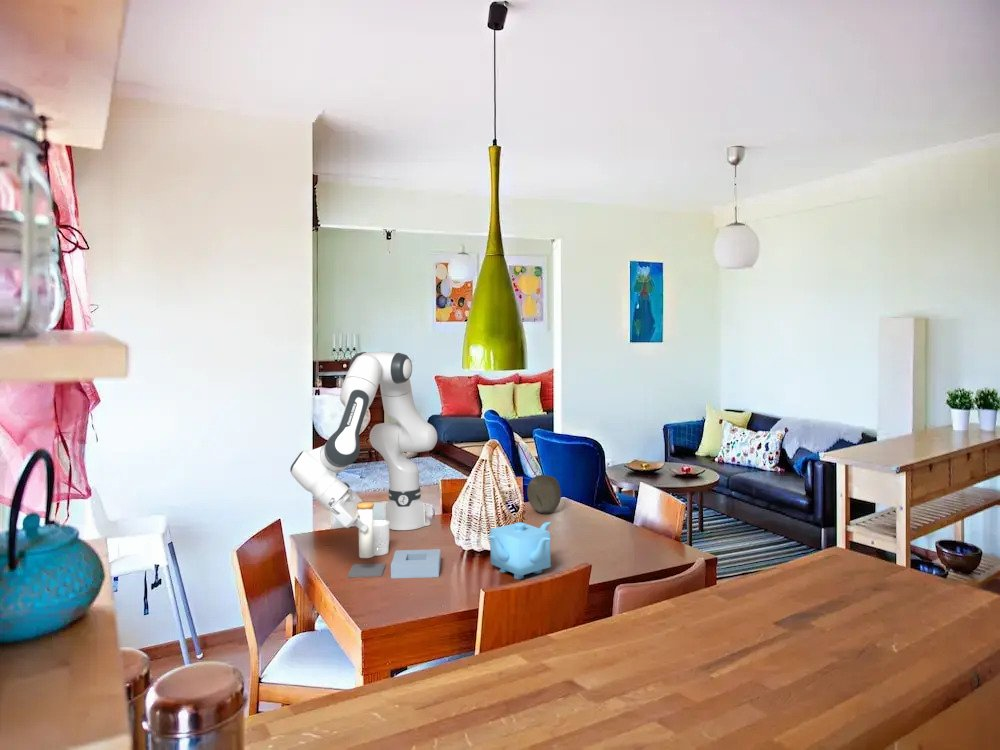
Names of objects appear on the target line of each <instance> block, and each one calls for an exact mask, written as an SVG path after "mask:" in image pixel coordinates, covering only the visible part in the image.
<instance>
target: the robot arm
mask: <svg viewBox="0 0 1000 750" xmlns="http://www.w3.org/2000/svg"><path fill="white" fill-rule="evenodd" d="M412 372H413V364H412V360H411V358H410V357H409V356H408V355H407V354H405V353H401V352H391V351H370V352H366V351H362V352H358V353H355V354H354V355H353V357H352V358H351V360H350V361H349V369H348V371H347V373H346V374H345V377H344V379H343V383H342V386H341V389H340V395H339V400H340V402H341V404H342V405H343V406H344V410H343V414H342V417H341V420H340V423H339V425H338V428H337V429H336V431H335V432H334V433H332V434H331V436H330V437H329V438H328V439H327V441H326V443H325V444H324V445H322V446H319V447H317V448H313V449H309V450H301V452H300V453H299V454H298V456H297V457H296V458H295V460H294V461H293V463H292V464H291V466H290V471H289V472H290V474H291V476H292V477H293V478H294V479H295V480H296V482H297V483H298V484H299V485H300V486H301V487H302V488H303V489H304V490H305V491H307V492H308V493H311V495H313V497H314V499H315V500H316V501H317V502H318V503H319V504H320V505H321V506H322V507H324V508H325V510H327V511H329V510H330V513H331V515H332V516H333V517H334V518H335V519H336V520H337V521H338V523H340V524H341V525H342V526H343V527H344V528H346V529H349V528H350V527H351V526H355V528H358V529H359V528H360V529H361V530H362V531H364V532H365V531H366V530H367V529H368V525H366V524H365V523H363V522H362V521H361V520H360V519H359V518H358V516H359V511H358V508H357V503H358V502H362V501H363V500H362V499H361V497H359V495H358V494H356V493H355V491H353V490H352V489H351V485H350V484H349V483H348V482H346V481H342V480H341V479H340V478H338V477H337V475H338V474H340V473H342V472H343V471H345V469H346V468H348V467H349V466H350V465H351V464H353V463H354V462H355V461H356V460H357V459H358V457H359V455H360V452H361V445H360V433H361V429H362V425H363V422H364V418H365V415H366V412H367V410H368V409H369V408H370V406H371V405H372V403H373V402H374V398H375V397H376V394H377V392H378V389H379V387H380V389H379V390H380V395H381V401H382V406H383V411H384V413H385V414H386V415H387V416H388V417H389V418H391V419H393V420H395V422H394V421H393V422H387V421H386V422H383V423H382V422H381V423H378V424H377V423H376V424H375V425H373V426H372V428H371V429H370V432H369V442H370V445H371V446H372V448H373V449H375V451H376V452H378V453H379V454H380V455H381V457H382V458H383V459H384V461H385V464H386V466H387V470H388V481H389V488H388V491H387V492H388V493H387V494H388V499H389V500H388V501H387V502H386V503H384V520H387V521H389V522H390V526H389V530H393V531H394V530H395V531H410V530H417V529H421V528H423V527H428V526H430V525H432V523H431V520H430V519H429V517H428V515H427V512H426V511H425V507H426V506H425V502H424V501H423V500H422V499H421V495H422V491H421V487H420V470H419V469H420V468H419V467H418V465H417V464H416V463H415V462H413V461H411V460H409V459H408V458H407V456H406V455H405V453H421V452H422V453H423V452H428V451H432V450H433V449H434V448H435V447H436V444H437V442H438V432H437V429H436V428H435V427H434V426H433V425H432V424H431V423H429V422H428V421H426V420H425V419H424V417H422V416H421V415H420V413H419V412H418V410H417V408H416V405H415V402H414V401H415V400H414V397H413V390H412V384H411V379H410V378H411V376H412Z"/></svg>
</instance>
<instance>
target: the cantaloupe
mask: <svg viewBox="0 0 1000 750" xmlns="http://www.w3.org/2000/svg"><path fill="white" fill-rule="evenodd" d="M526 493H527V494H526V496H527V500H528V501H529V505H530V507H532V508H533V509H534V510H535V511H536V512H538V513H541V514H542V515H543V514H544V515H548V514H551V513H553V512H554V511H555V510H556V509H557V508H558V507H559V504H560V502H561V498H562V490H561V485H560V483H559V481H558V480H557V479H556V477H554V476H552V475H547V474H540V475H537V476H534V477H533V478H532V479H531V480H530V481H529V483H528V485H527V489H526Z"/></svg>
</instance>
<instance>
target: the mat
mask: <svg viewBox="0 0 1000 750" xmlns="http://www.w3.org/2000/svg"><path fill="white" fill-rule="evenodd" d="M386 565H387V563H383V562H382V563H355V564H352V566H351V568H350V570H349V572H348V574H347V578H370V577H371V578H372V577H374V578H376V577H377V578H379V577H382V576H383V574H384V571H385V568H386Z"/></svg>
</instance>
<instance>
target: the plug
mask: <svg viewBox="0 0 1000 750" xmlns="http://www.w3.org/2000/svg"><path fill="white" fill-rule="evenodd" d="M374 504H375V503H374V501H370V500H364V501H363V500H362V502H358V503H357V508H358V511H359V516H358V518H359V519H360V520H361V521H362V522H363V523H365V524H366V525H368V529H367V530H366V531H365V532H364V531H362V530H361V529H360V528H358V557H359V558H361V559H369V558H370V559H371V558H373V557H374V533H373V520H374V507H375V505H374Z"/></svg>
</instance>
